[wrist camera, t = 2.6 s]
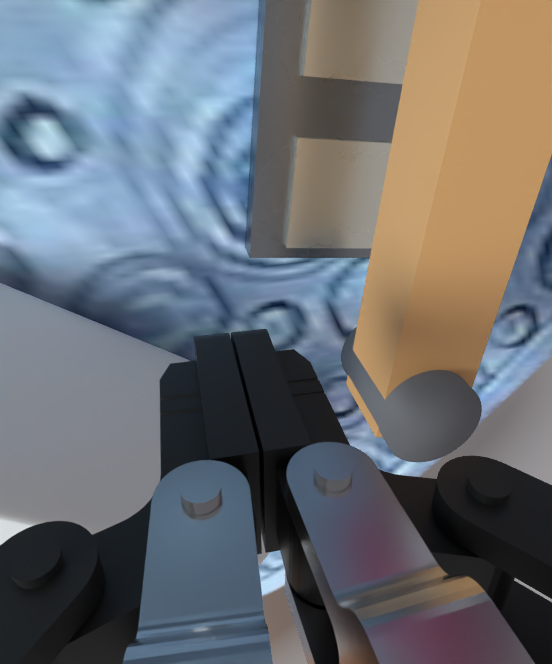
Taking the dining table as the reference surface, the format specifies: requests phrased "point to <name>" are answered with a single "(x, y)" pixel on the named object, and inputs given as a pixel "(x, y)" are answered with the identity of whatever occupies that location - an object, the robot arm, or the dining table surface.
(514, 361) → the dining table surface
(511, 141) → the swing bar
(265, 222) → the label plate
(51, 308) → the cable organizer
